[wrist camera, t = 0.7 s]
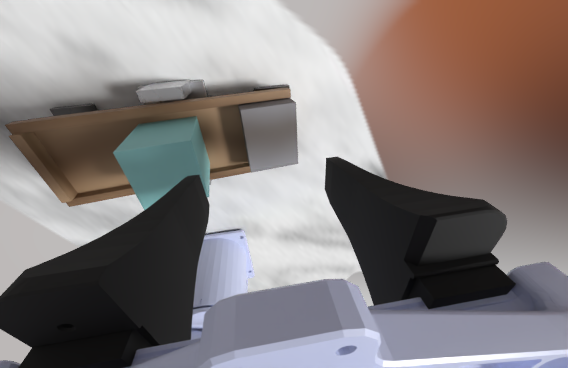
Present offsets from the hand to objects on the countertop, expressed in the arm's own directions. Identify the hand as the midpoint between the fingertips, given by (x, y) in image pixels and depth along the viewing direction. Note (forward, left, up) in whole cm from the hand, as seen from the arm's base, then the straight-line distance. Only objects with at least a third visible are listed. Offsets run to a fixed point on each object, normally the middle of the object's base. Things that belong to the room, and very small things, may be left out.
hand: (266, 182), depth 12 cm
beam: (0, +6, -8) cm, 11 cm away
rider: (0, +6, -7) cm, 10 cm away
